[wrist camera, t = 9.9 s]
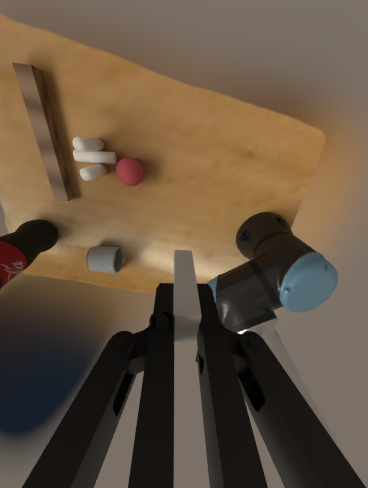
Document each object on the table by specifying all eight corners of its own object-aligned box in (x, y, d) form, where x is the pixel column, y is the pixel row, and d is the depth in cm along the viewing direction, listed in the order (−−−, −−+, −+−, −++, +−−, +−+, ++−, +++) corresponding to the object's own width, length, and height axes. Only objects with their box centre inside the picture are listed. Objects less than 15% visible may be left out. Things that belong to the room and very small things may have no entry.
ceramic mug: (93, 241, 50) (80, 256, 43) (121, 242, 51) (113, 256, 44) (100, 269, 56) (90, 286, 49) (125, 269, 56) (119, 286, 49)
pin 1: (106, 147, 38) (89, 147, 31) (97, 152, 39) (79, 154, 31) (99, 136, 37) (80, 133, 30) (90, 141, 38) (69, 140, 30)
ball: (123, 169, 42) (146, 163, 41) (125, 192, 41) (149, 187, 40) (109, 154, 36) (135, 148, 35) (111, 181, 35) (138, 175, 35)
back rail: (23, 68, 31) (12, 62, 29) (40, 70, 32) (30, 64, 29) (61, 197, 43) (55, 200, 41) (73, 198, 44) (68, 201, 41)
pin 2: (109, 171, 41) (95, 177, 33) (101, 176, 41) (85, 182, 34) (103, 161, 40) (86, 165, 32) (95, 166, 40) (77, 171, 33)
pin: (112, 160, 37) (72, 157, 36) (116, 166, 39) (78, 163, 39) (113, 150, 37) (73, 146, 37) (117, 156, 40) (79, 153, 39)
